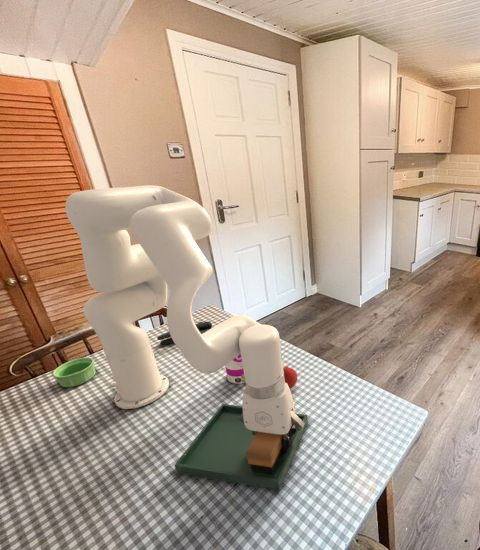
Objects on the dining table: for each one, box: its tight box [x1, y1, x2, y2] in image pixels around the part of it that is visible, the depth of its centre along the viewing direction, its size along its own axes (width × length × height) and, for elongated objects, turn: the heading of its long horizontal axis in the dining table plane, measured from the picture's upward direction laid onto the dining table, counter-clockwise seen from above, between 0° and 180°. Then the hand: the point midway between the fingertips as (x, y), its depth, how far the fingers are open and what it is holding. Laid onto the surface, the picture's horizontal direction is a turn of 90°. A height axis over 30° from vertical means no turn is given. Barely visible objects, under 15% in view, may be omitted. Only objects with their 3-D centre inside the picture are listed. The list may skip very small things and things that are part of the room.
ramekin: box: [52, 357, 97, 388], centre depth 90 cm, size 9×9×4 cm
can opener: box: [156, 320, 213, 346], centre depth 110 cm, size 18×7×6 cm, turn 115°
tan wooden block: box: [246, 422, 293, 474], centre depth 68 cm, size 13×5×6 cm, turn 171°
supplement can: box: [224, 354, 246, 385], centre depth 90 cm, size 8×8×15 cm
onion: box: [283, 364, 298, 390], centre depth 86 cm, size 6×6×8 cm
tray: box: [174, 403, 309, 491], centre depth 70 cm, size 23×17×2 cm
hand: (274, 445), depth 69 cm, fingers closed on tan wooden block, 5 cm apart
